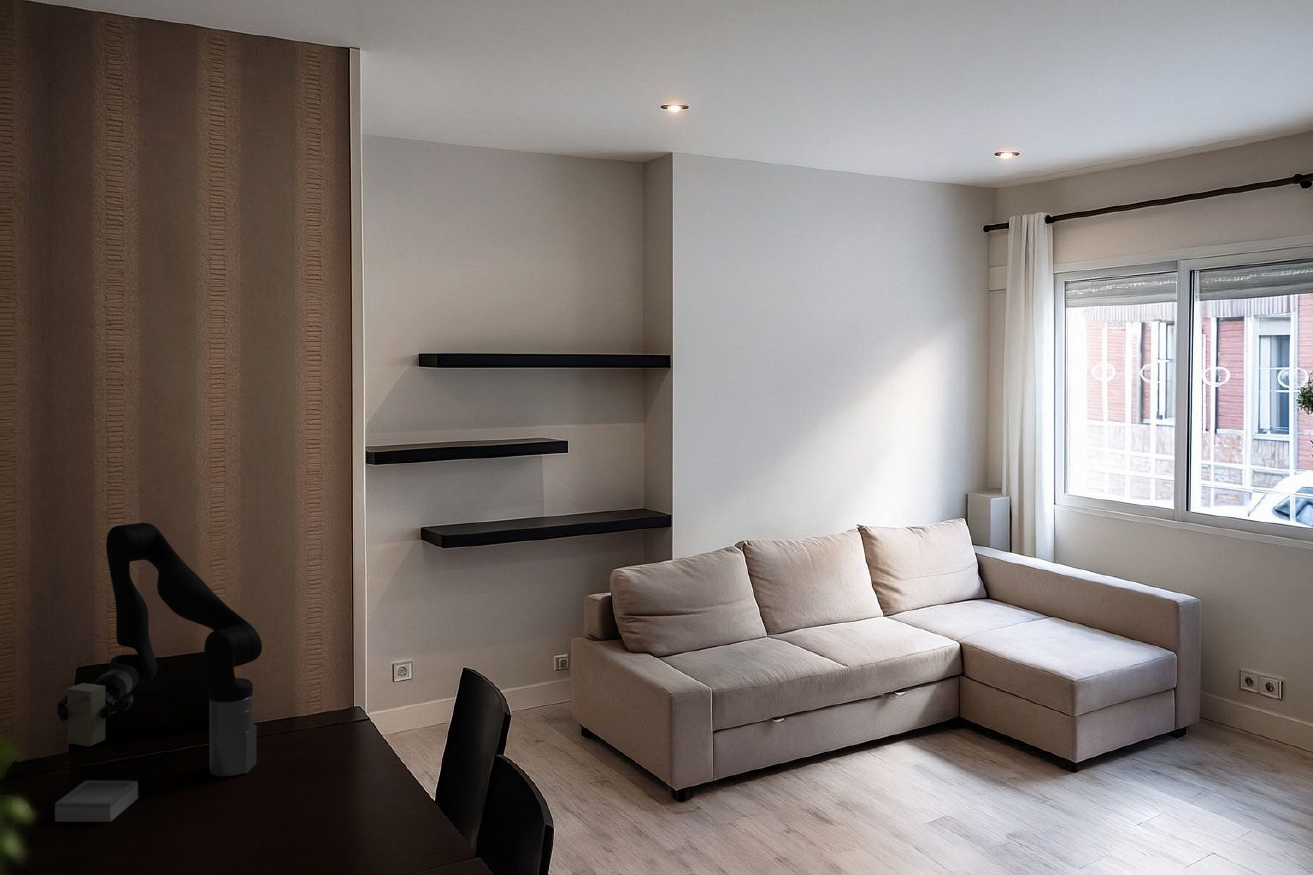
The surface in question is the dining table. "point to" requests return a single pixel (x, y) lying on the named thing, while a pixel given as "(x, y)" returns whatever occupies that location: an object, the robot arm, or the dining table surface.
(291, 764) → the dining table surface
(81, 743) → the skincare box
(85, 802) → the shallow open tray
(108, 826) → the dining table surface
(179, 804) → the dining table surface
